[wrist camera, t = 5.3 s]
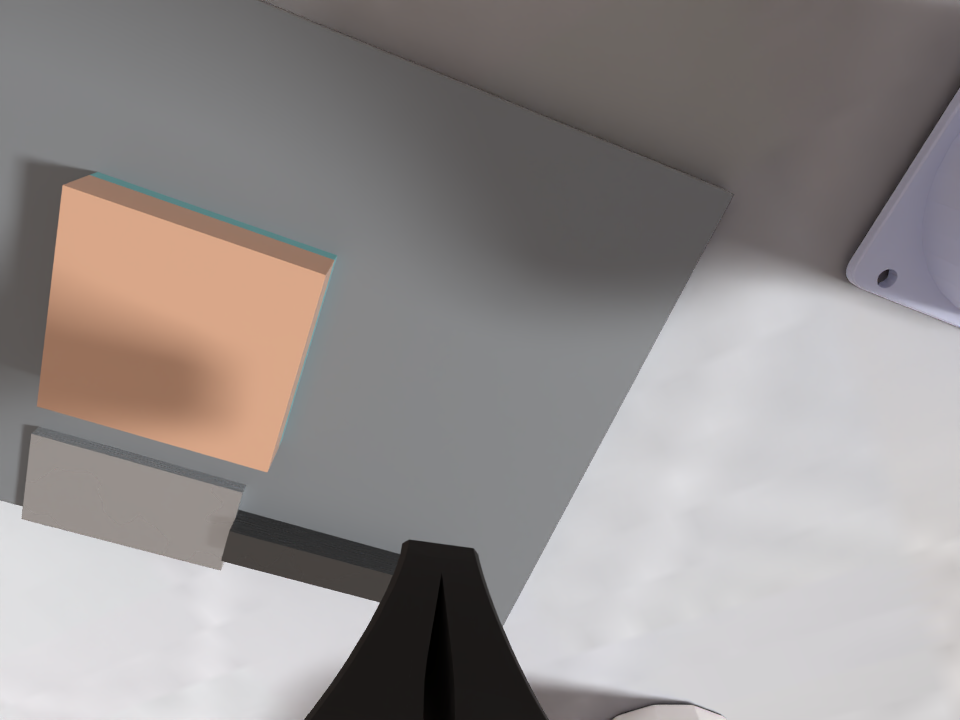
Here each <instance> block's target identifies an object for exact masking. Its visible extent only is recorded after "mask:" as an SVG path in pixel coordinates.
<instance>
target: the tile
mask: <svg viewBox="0 0 960 720" xmlns="http://www.w3.org/2000/svg"><path fill="white" fill-rule="evenodd" d="M336 258H337V255H335V254H332V253H329V252H326V251H323V250H320V249H317V248H315V247H312V246H309V245H306V244H303V243H300V242H297V241H295V240H292V239H289V238H286V237H283V236H280V235H277V234H274V233H272V232H269V231H266V230H263V229H260V228H257V227H254V226H252V225H249V224H246V223H243V222H240V221H237V220H234V219H231V218H229V217H226V216H223V215H220V214H217V213H214V212H211V211H209V210H206V209H203V208H200V207H197V206H194V205H191V204H189V203H186V202H183V201H180V200H177V199H174V198H171V197H168V196H166V195H163V194H160V193H157V192H154V191H151V190H148V189H146V188H143V187H140V186H137V185H134V184H131V183H128V182H125V181H123V180H120V179H117V178H114V177H111V176H108V175H105V174H103V173H100V172H96V173H93V174H91V175H88V176H85V177H83V178H80V179H77V180H75V181H72V182H69V183H67V184H64V185H63V186H62V195H61V203H60V212H59V221H58V229H57V238H56V246H55V255H54V263H53V272H52V280H51V289H50V298H49V306H48V315H47V323H46V332H45V340H44V349H43V357H42V366H41V375H40V383H39V392H38V400H37V407H41V408H44V409H48V410H51V411H55V412H58V413H62V414H65V415H69V416H72V417H76V418H79V419H83V420H86V421H90V422H93V423H97V424H100V425H103V426H107V427H110V428H114V429H117V430H121V431H124V432H128V433H131V434H135V435H138V436H142V437H145V438H149V439H152V440H156V441H159V442H163V443H166V444H170V445H173V446H177V447H180V448H184V449H187V450H191V451H194V452H198V453H201V454H204V455H208V456H211V457H215V458H218V459H222V460H225V461H229V462H232V463H236V464H239V465H243V466H246V467H250V468H253V469H257V470H260V471H264V472H268V470H269V468H270V466H271V464H272V461H273V459H274V457H275V455H276V452H277V450H278V448H279V446H280V443H281V441H282V438H283V435H284V431H285V428H286V425H287V421H288V418H289V415H290V411H291V408H292V405H293V401H294V398H295V395H296V391H297V388H298V385H299V381H300V378H301V375H302V371H303V368H304V365H305V361H306V358H307V355H308V351H309V348H310V345H311V341H312V338H313V335H314V331H315V328H316V325H317V321H318V318H319V315H320V311H321V308H322V305H323V301H324V298H325V295H326V291H327V288H328V285H329V281H330V278H331V275H332V271H333V268H334V265H335V261H336Z"/></svg>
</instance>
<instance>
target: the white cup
mask: <svg viewBox="0 0 960 720" xmlns="http://www.w3.org/2000/svg"><path fill="white" fill-rule="evenodd" d="M612 720H727V719H726V718H725V717H724V716H721V715H719V714H716V713H713V712H710V711H708V710H705V709H702V708H700V707H697V706H694V705H651V706H648V707H644V708H641V709H637V710H634V711H631V712H628V713H625V714H621V715H618V716H617V717H615V718H614V719H612Z"/></svg>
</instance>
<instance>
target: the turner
mask: <svg viewBox="0 0 960 720" xmlns="http://www.w3.org/2000/svg"><path fill="white" fill-rule="evenodd" d="M245 488H246V485H245V484H242V483H238V482H235V481H231V480H228V479H224V478H220V477H217V476H213V475H210V474H206V473H203V472H199V471H196V470H192V469H189V468H185V467H181V466H178V465H174V464H171V463H167V462H164V461H160V460H157V459H153V458H150V457H146V456H143V455H139V454H135V453H132V452H128V451H125V450H121V449H118V448H114V447H111V446H107V445H104V444H100V443H96V442H93V441H89V440H86V439H82V438H79V437H75V436H72V435H68V434H65V433H61V432H58V431H54V430H50V429H47V428H43V427H40V426H39V427H38V428H37V429H36V430H35V431H34V432H33V433H32V434H31V441H30V450H29V458H28V467H27V476H26V484H25V493H24V502H23V510H22V519H24V520H28V521H31V522H35V523H39V524H43V525H47V526H51V527H55V528H59V529H62V530H66V531H70V532H74V533H78V534H82V535H86V536H89V537H93V538H97V539H101V540H105V541H109V542H113V543H116V544H120V545H124V546H128V547H132V548H136V549H140V550H144V551H147V552H151V553H155V554H159V555H163V556H167V557H171V558H174V559H178V560H182V561H186V562H190V563H194V564H198V565H201V566H205V567H209V568H213V569H217V570H221V569H222V566H223V564H224V562H228V563H231V564H235V565H239V566H243V567H247V568H251V569H254V570H258V571H262V572H266V573H270V574H274V575H277V576H281V577H285V578H289V579H293V580H297V581H300V582H304V583H308V584H312V585H316V586H319V587H323V588H327V589H331V590H335V591H339V592H342V593H346V594H350V595H354V596H358V597H362V598H365V599H369V600H373V601H377V602H381V600H382V598H383V596H384V594H385V592H386V590H387V588H388V585H389V583H390V581H391V578H392V576H393V574H394V571H395V568H396V566H397V563H398V559H399V556H400V554H398V553H394V552H391V551H387V550H383V549H380V548H376V547H372V546H369V545H365V544H362V543H358V542H354V541H351V540H347V539H343V538H340V537H336V536H332V535H329V534H325V533H322V532H318V531H314V530H311V529H307V528H303V527H300V526H296V525H293V524H289V523H285V522H282V521H278V520H274V519H271V518H267V517H264V516H260V515H256V514H253V513H249V512H245V511H242V510H239V509H240V506H241V502H242V499H243V495H244V491H245Z"/></svg>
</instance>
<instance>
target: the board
mask: <svg viewBox="0 0 960 720" xmlns="http://www.w3.org/2000/svg"><path fill="white" fill-rule="evenodd" d="M96 172H100V173H103V174H105V175H108V176H111V177H114V178H117V179H120V180H123V181H125V182H128V183H131V184H134V185H137V186H140V187H143V188H146V189H148V190H151V191H154V192H157V193H160V194H163V195H166V196H168V197H171V198H174V199H177V200H180V201H183V202H186V203H189V204H191V205H194V206H197V207H200V208H203V209H206V210H209V211H211V212H214V213H217V214H220V215H223V216H226V217H229V218H231V219H234V220H237V221H240V222H243V223H246V224H249V225H252V226H254V227H257V228H260V229H263V230H266V231H269V232H272V233H274V234H277V235H280V236H283V237H286V238H289V239H292V240H295V241H297V242H300V243H303V244H306V245H309V246H312V247H315V248H317V249H320V250H323V251H326V252H329V253H332V254H335V255H337V258H336V261H335V265H334V268H333V271H332V275H331V278H330V281H329V285H328V288H327V291H326V295H325V298H324V301H323V305H322V308H321V311H320V315H319V318H318V321H317V325H316V328H315V331H314V335H313V338H312V341H311V345H310V348H309V351H308V355H307V358H306V361H305V365H304V368H303V371H302V375H301V378H300V381H299V385H298V388H297V391H296V395H295V398H294V401H293V405H292V408H291V411H290V415H289V418H288V421H287V425H286V428H285V431H284V435H283V438H282V441H281V443H280V446H279V448H278V450H277V452H276V455H275V457H274V459H273V461H272V464H271V466H270V468H269V470H268V472H264V471H260V470H257V469H253V468H250V467H246V466H243V465H239V464H236V463H232V462H229V461H225V460H222V459H218V458H215V457H211V456H208V455H204V454H201V453H198V452H194V451H191V450H187V449H184V448H180V447H177V446H173V445H170V444H166V443H163V442H159V441H156V440H152V439H149V438H145V437H142V436H138V435H135V434H131V433H128V432H124V431H121V430H117V429H114V428H110V427H107V426H103V425H100V424H97V423H93V422H90V421H86V420H83V419H79V418H76V417H72V416H69V415H65V414H62V413H58V412H55V411H51V410H48V409H44V408H41V407H37V400H38V392H39V383H40V375H41V366H42V357H43V349H44V340H45V332H46V323H47V315H48V306H49V298H50V289H51V280H52V272H53V263H54V255H55V246H56V238H57V229H58V221H59V212H60V203H61V195H62V186H63V185H64V184H67V183H69V182H72V181H75V180H77V179H80V178H83V177H85V176H88V175H91V174H93V173H96ZM733 195H734V194H732V193H730V192H729V191H727V190H725V189H723V188H720V187H718V186H715V185H713V184H710V183H708V182H706V181H703V180H701V179H698V178H696V177H693V176H691V175H688V174H686V173H683V172H681V171H679V170H676V169H674V168H671V167H669V166H666V165H664V164H661V163H659V162H656V161H654V160H652V159H649V158H647V157H644V156H642V155H639V154H637V153H634V152H632V151H629V150H627V149H625V148H622V147H620V146H617V145H615V144H612V143H610V142H607V141H605V140H602V139H600V138H598V137H595V136H593V135H590V134H588V133H585V132H583V131H580V130H578V129H575V128H573V127H571V126H568V125H566V124H563V123H561V122H558V121H556V120H553V119H551V118H548V117H546V116H544V115H541V114H539V113H536V112H534V111H531V110H529V109H526V108H524V107H521V106H519V105H517V104H514V103H512V102H509V101H507V100H504V99H502V98H499V97H497V96H494V95H492V94H490V93H487V92H485V91H482V90H480V89H477V88H475V87H472V86H470V85H467V84H465V83H463V82H460V81H458V80H455V79H453V78H450V77H448V76H445V75H443V74H440V73H438V72H436V71H433V70H431V69H428V68H426V67H423V66H421V65H418V64H416V63H413V62H411V61H409V60H406V59H404V58H401V57H399V56H396V55H394V54H391V53H389V52H386V51H384V50H382V49H379V48H377V47H374V46H372V45H369V44H367V43H364V42H362V41H359V40H357V39H355V38H352V37H350V36H347V35H345V34H342V33H340V32H337V31H335V30H333V29H330V28H328V27H325V26H323V25H320V24H318V23H315V22H313V21H310V20H308V19H306V18H303V17H301V16H298V15H296V14H293V13H291V12H288V11H286V10H283V9H281V8H279V7H276V6H274V5H271V4H269V3H266V2H264V1H261V0H0V500H1V501H5V502H8V503H12V504H16V505H20V506H23V502H24V493H25V484H26V476H27V467H28V458H29V450H30V441H31V434H32V433H33V432H34V431H35V430H36V429H37V428H38V427H39V426H40V427H43V428H47V429H50V430H54V431H58V432H61V433H65V434H68V435H72V436H75V437H79V438H82V439H86V440H89V441H93V442H96V443H100V444H104V445H107V446H111V447H114V448H118V449H121V450H125V451H128V452H132V453H135V454H139V455H143V456H146V457H150V458H153V459H157V460H160V461H164V462H167V463H171V464H174V465H178V466H181V467H185V468H189V469H192V470H196V471H199V472H203V473H206V474H210V475H213V476H217V477H220V478H224V479H228V480H231V481H235V482H238V483H242V484H245V485H246V488H245V491H244V495H243V499H242V502H241V506H240V509H239V510H242V511H245V512H249V513H253V514H256V515H260V516H264V517H267V518H271V519H274V520H278V521H282V522H285V523H289V524H293V525H296V526H300V527H303V528H307V529H311V530H314V531H318V532H322V533H325V534H329V535H332V536H336V537H340V538H343V539H347V540H351V541H354V542H358V543H362V544H365V545H369V546H372V547H376V548H380V549H383V550H387V551H391V552H394V553H398V554H400V553H401V547H402V543H404V542H405V541H407V540H409V539H410V540H417V541H425V542H432V543H439V544H447V545H454V546H461V547H469V548H474V549H475V551H476V552H477V553H478V555H479V560H480V564H481V567H482V571H483V574H484V578H485V581H486V584H487V587H488V590H489V593H490V596H491V598H492V601H493V604H494V607H495V609H496V612H497V614H498V617H499V620H500V622H501V624H502V627H503V625H504V623H505V621H506V619H507V617H508V616H509V614H510V612H511V610H512V608H513V606H514V604H515V603H516V601H517V599H518V597H519V595H520V593H521V591H522V589H523V588H524V586H525V584H526V582H527V580H528V578H529V576H530V575H531V573H532V571H533V569H534V567H535V565H536V563H537V561H538V560H539V558H540V556H541V554H542V552H543V550H544V548H545V547H546V545H547V543H548V541H549V539H550V537H551V535H552V533H553V532H554V530H555V528H556V526H557V524H558V522H559V520H560V519H561V517H562V515H563V513H564V511H565V509H566V507H567V505H568V504H569V502H570V500H571V498H572V496H573V494H574V492H575V490H576V489H577V487H578V485H579V483H580V481H581V479H582V477H583V476H584V474H585V472H586V470H587V468H588V466H589V464H590V462H591V461H592V459H593V457H594V455H595V453H596V451H597V449H598V448H599V446H600V444H601V442H602V440H603V438H604V436H605V434H606V433H607V431H608V429H609V427H610V425H611V423H612V421H613V420H614V418H615V416H616V414H617V412H618V410H619V408H620V406H621V405H622V403H623V401H624V399H625V397H626V395H627V393H628V392H629V390H630V388H631V386H632V384H633V382H634V380H635V378H636V377H637V375H638V373H639V371H640V369H641V367H642V365H643V364H644V362H645V360H646V358H647V356H648V354H649V352H650V350H651V349H652V347H653V345H654V343H655V341H656V339H657V337H658V336H659V334H660V332H661V330H662V328H663V326H664V324H665V322H666V321H667V319H668V317H669V315H670V313H671V311H672V309H673V307H674V306H675V304H676V302H677V300H678V298H679V296H680V294H681V293H682V291H683V289H684V287H685V285H686V283H687V281H688V279H689V278H690V276H691V274H692V272H693V270H694V268H695V266H696V265H697V263H698V261H699V259H700V257H701V255H702V253H703V251H704V250H705V248H706V246H707V244H708V242H709V240H710V238H711V237H712V235H713V233H714V231H715V229H716V227H717V225H718V223H719V222H720V220H721V218H722V216H723V214H724V212H725V210H726V209H727V207H728V205H729V203H730V201H731V199H732V197H733Z"/></svg>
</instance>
